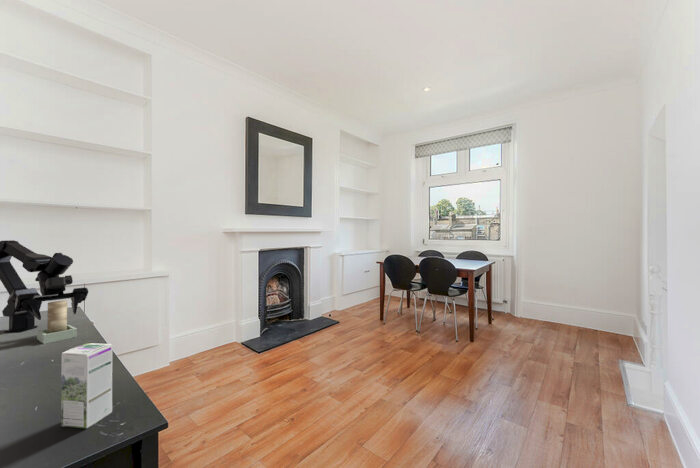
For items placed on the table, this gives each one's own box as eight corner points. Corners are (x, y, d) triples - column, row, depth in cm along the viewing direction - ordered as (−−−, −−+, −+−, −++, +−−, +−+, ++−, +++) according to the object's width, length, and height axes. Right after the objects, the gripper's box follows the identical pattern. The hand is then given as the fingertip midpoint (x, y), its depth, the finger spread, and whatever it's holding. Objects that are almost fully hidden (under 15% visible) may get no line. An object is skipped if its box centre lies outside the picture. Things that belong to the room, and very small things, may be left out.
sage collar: (37, 339, 105) (37, 330, 105) (69, 332, 112) (69, 324, 112) (43, 343, 100) (43, 335, 101) (76, 336, 108) (77, 328, 108)
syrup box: (113, 411, 61) (114, 342, 62) (85, 430, 56) (86, 353, 56) (88, 410, 62) (90, 341, 62) (58, 428, 56) (59, 352, 56)
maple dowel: (43, 340, 104) (43, 303, 104) (56, 335, 109) (57, 300, 109) (57, 340, 104) (58, 303, 104) (70, 335, 109) (71, 300, 109)
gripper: (17, 271, 101) (24, 307, 95) (87, 266, 117) (97, 297, 111) (11, 291, 105) (18, 327, 99) (80, 284, 121) (89, 315, 115)
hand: (58, 316), depth 106 cm, fingers open, 9 cm apart
